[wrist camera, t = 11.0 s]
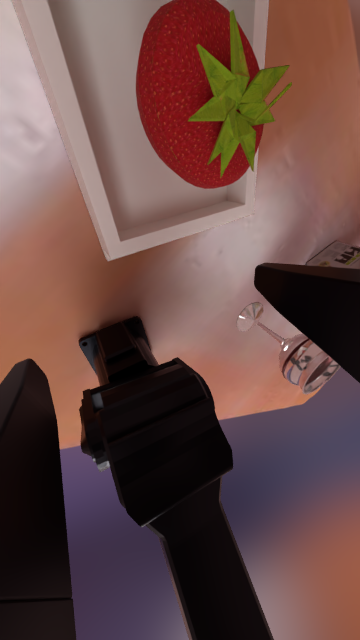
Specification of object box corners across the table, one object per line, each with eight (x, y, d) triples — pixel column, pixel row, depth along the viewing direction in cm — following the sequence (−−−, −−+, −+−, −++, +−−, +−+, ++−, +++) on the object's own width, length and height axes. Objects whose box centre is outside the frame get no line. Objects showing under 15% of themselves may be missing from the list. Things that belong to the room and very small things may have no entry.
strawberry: (146, 7, 12) (307, -198, 5) (217, 137, 17) (345, 124, 10) (86, 106, 13) (150, 49, 6) (170, 201, 18) (258, 230, 11)
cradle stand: (229, 218, 23) (294, 238, 17) (105, 257, 19) (134, 299, 13) (231, -149, 12) (427, -461, 6) (-72, -228, 8) (-384, -1350, 2)
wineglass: (269, 319, 36) (342, 369, 27) (236, 343, 35) (301, 402, 27) (265, 288, 32) (352, 336, 23) (227, 315, 31) (302, 375, 22)
